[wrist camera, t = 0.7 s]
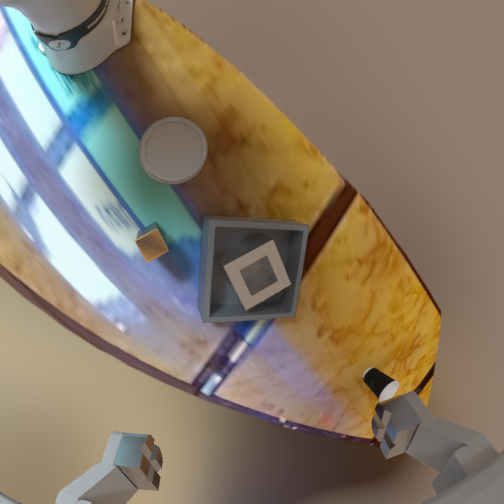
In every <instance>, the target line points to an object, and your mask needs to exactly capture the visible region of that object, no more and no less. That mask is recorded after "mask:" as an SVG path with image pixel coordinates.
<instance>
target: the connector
mask: <svg viewBox="0 0 504 504" xmlns="http://www.w3.org/2000/svg"><path fill="white" fill-rule="evenodd" d="M135 242H136V244H137V246H138V248H139V249H140V251H141V253H142V255H143V257H144V258H145V260H146V262H147V263H148V262H150V261H151V260H153V259H155V258H157V257H159V256H161V255H162V254H164V253H166V252H168V251H169V250H168V248H167V245H166V241H165V238H164V236H163V234H162V232H161V230H160V229H159V227H158V225H157V223H156V222H155V223H153V224H151V225H149V226H147V227H145V228H144V229H142V230H140V231H138V234H137V239H136V240H135Z"/></svg>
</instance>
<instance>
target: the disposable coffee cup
mask: <svg viewBox="0 0 504 504" xmlns="http://www.w3.org/2000/svg"><path fill="white" fill-rule="evenodd" d="M207 152H208V144H207V140H206V137H205V135H204V133H203V131H202V130H201V129H200V127H199V126H198V125H197V124H195V123H194V122H193V121H191V120H189V119H187V118H183V117H178V116H172V117H165V118H162V119H160V120H158V121H156V122H154V123H153V124H152V125H151V126H150V127H149V128H148V129H147V130H146V131H145V132H144V134H143V136H142V138H141V141H140V144H139V160H140V163H141V165H142V167H143V169H144V171H145V172H146V173H147V174H148V175H149V176H150V177H151V178H152V179H154V180H156V181H158V182H160V183H164V184H180V183H183V182H186V181H188V180H190V179H192V178H193V177H194V176H195V175H197V173H198V172H199V171H200V170H201V169H202V167H203V166H204V163H205V161H206V158H207Z"/></svg>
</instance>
